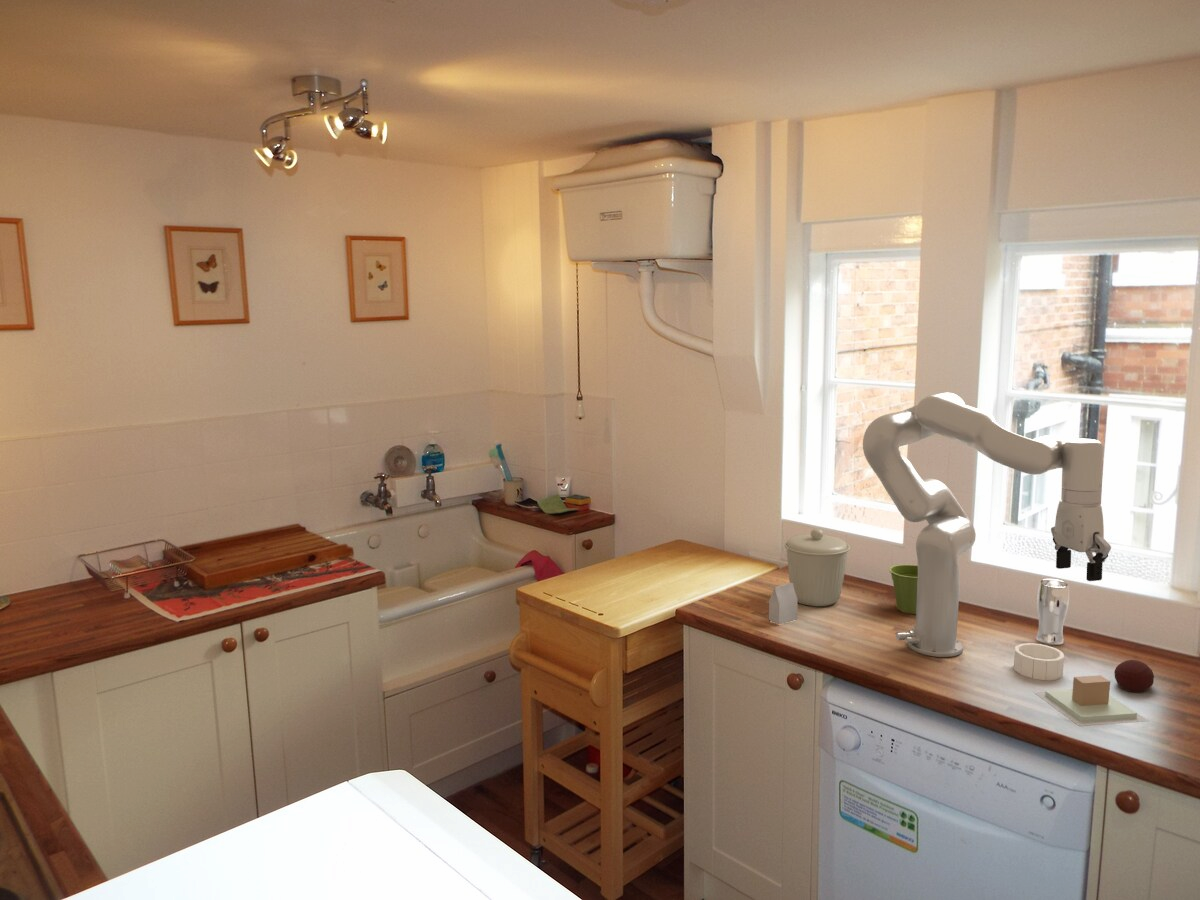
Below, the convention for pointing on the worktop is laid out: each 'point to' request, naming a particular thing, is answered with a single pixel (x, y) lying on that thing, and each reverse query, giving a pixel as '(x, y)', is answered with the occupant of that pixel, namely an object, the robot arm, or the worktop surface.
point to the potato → (1134, 676)
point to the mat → (1079, 723)
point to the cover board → (1090, 710)
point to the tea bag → (783, 604)
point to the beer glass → (1052, 610)
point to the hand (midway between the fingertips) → (1078, 574)
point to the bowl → (1038, 661)
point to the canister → (816, 567)
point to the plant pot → (905, 587)
